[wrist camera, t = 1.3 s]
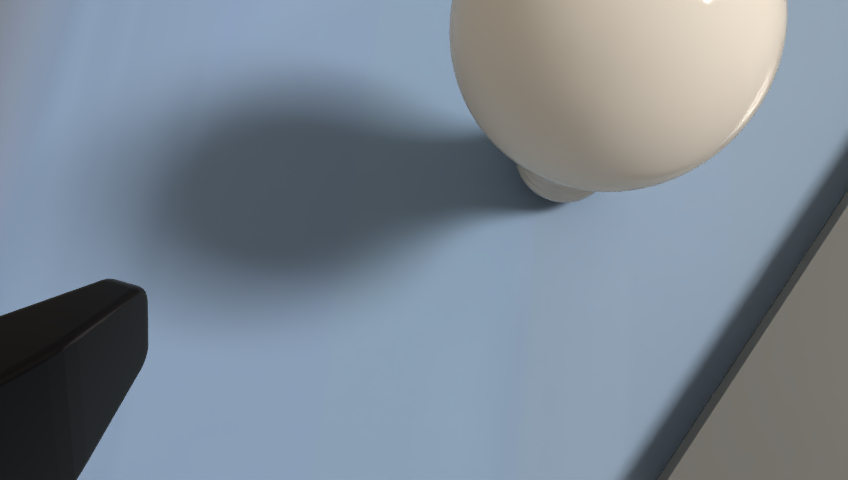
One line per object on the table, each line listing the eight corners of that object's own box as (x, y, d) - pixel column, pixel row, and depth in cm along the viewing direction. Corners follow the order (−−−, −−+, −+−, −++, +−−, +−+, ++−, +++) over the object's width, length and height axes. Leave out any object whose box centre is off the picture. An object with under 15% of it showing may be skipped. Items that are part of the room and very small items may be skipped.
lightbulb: (421, 106, 24) (393, -166, 13) (618, 38, 24) (745, -280, 14) (496, 303, 22) (534, 173, 12) (707, 228, 23) (927, 35, 12)
